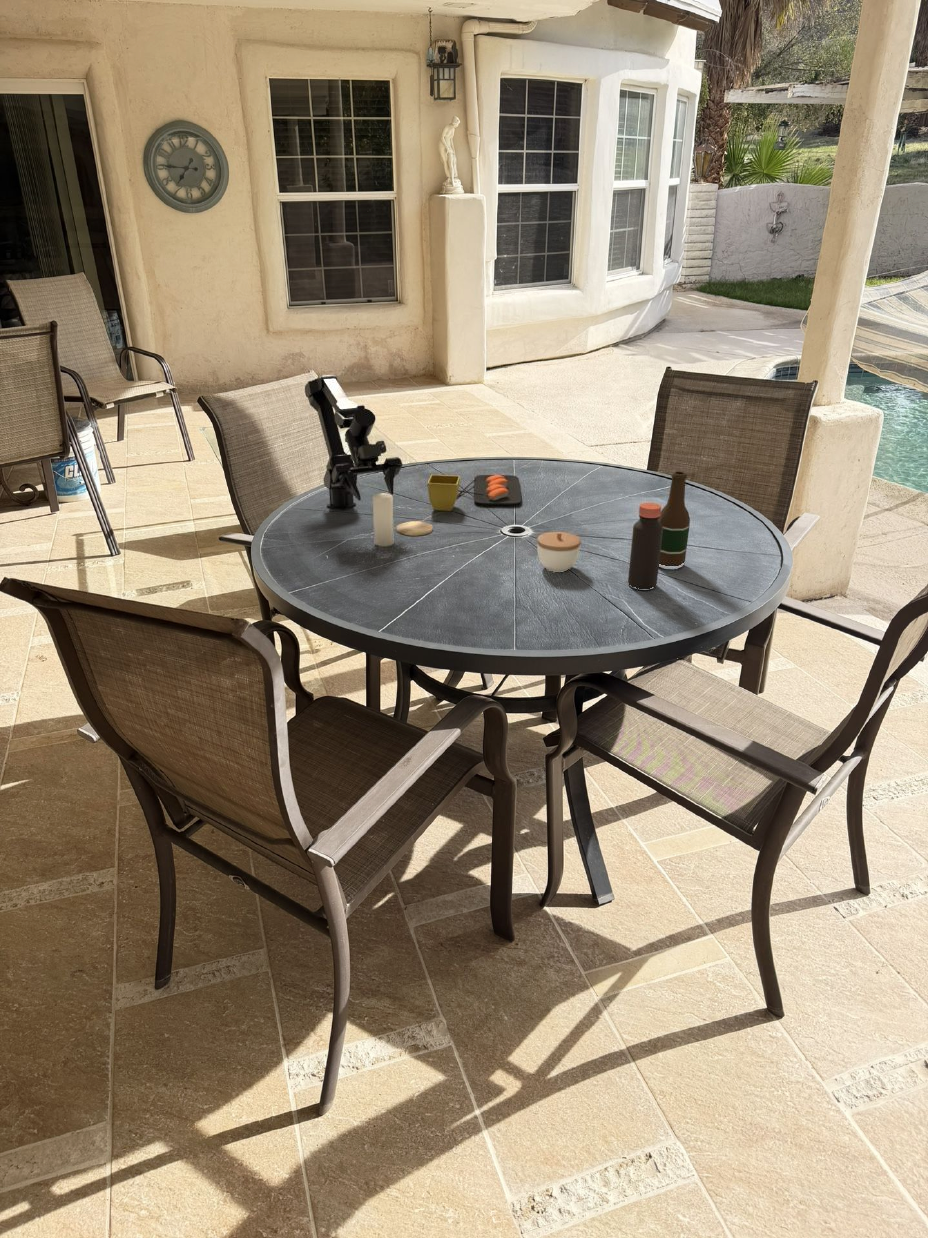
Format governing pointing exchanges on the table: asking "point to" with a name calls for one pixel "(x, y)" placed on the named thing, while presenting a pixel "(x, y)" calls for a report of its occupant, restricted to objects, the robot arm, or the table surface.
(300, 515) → the table surface
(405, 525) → the cork coaster
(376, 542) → the cream glossy rounded body
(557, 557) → the lidded jar
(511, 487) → the sushi plate
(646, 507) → the vinegar
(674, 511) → the beer bottle
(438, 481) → the flower pot
